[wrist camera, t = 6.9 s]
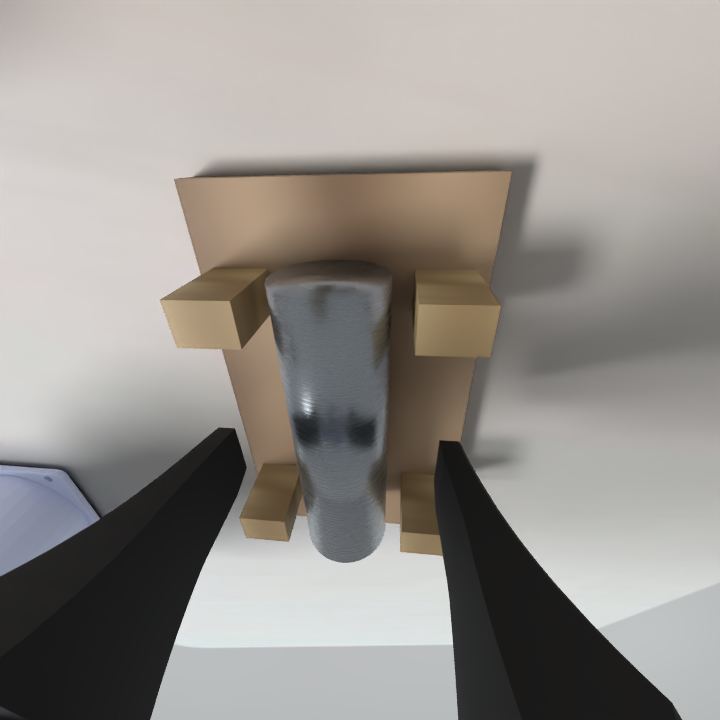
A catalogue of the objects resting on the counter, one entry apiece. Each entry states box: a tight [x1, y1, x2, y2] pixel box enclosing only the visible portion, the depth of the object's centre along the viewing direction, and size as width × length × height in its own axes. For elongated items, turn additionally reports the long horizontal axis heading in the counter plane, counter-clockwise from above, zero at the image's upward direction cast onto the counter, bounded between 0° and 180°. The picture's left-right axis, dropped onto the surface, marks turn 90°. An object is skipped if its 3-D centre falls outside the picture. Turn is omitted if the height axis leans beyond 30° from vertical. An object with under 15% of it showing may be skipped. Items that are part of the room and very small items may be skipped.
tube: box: [265, 260, 392, 563], centre depth 13 cm, size 4×12×4 cm, turn 1°
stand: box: [160, 170, 512, 556], centre depth 13 cm, size 10×17×4 cm, turn 1°
